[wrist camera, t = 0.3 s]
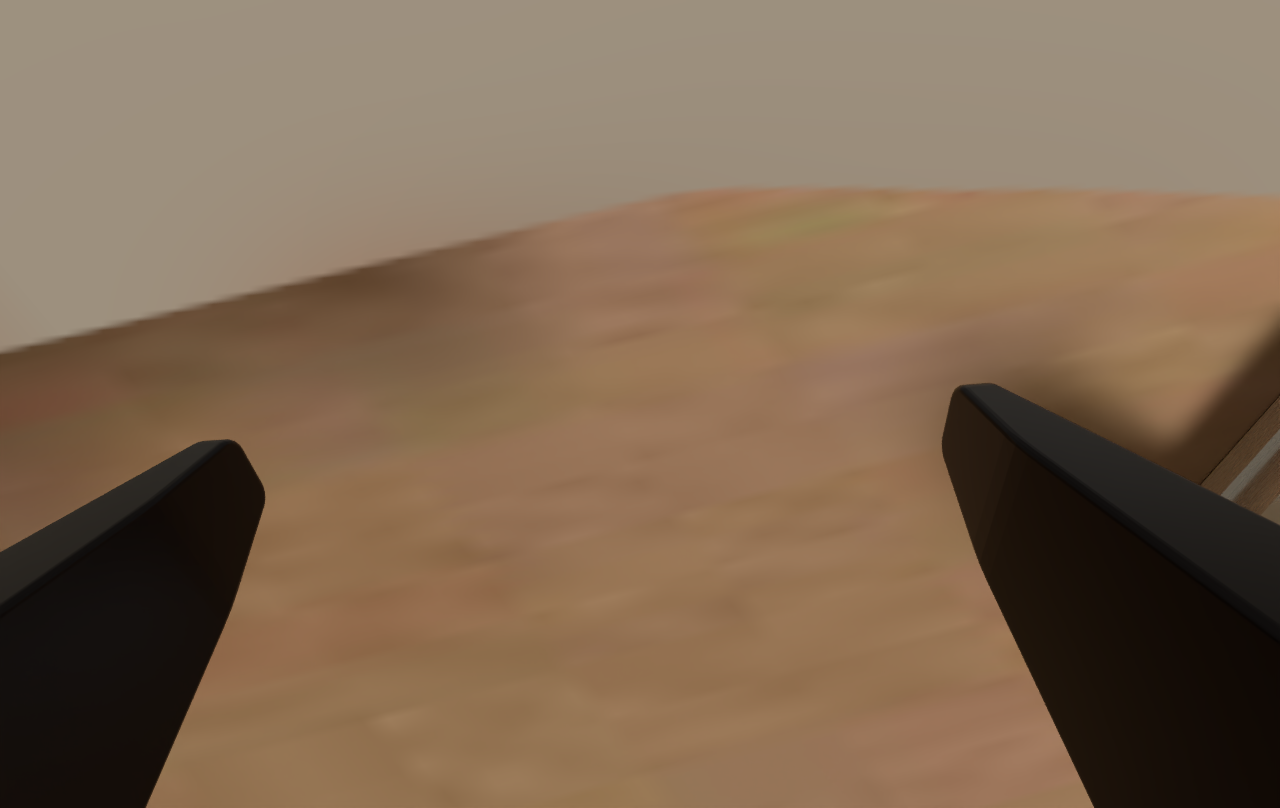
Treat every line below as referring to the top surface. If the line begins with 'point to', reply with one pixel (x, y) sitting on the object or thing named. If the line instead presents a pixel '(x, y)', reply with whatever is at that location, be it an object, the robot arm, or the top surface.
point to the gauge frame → (1253, 468)
